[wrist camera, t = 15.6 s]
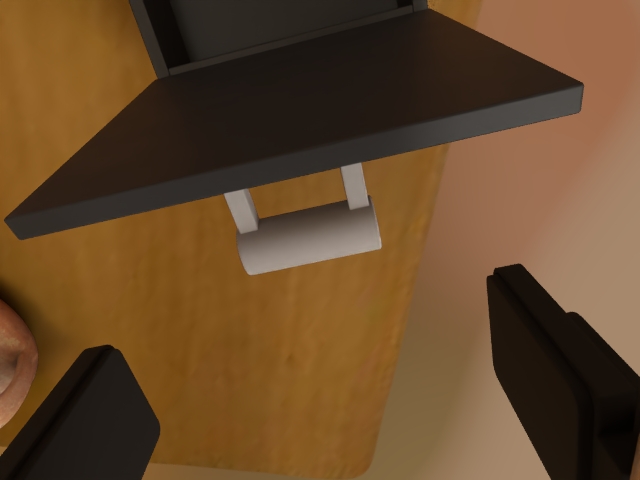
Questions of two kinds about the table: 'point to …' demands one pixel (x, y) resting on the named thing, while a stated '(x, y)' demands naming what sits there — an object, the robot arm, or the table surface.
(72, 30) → the table surface
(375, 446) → the table surface
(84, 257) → the table surface
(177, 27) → the open-top storage bin
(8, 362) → the ceramic jug
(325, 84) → the lid
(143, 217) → the table surface
